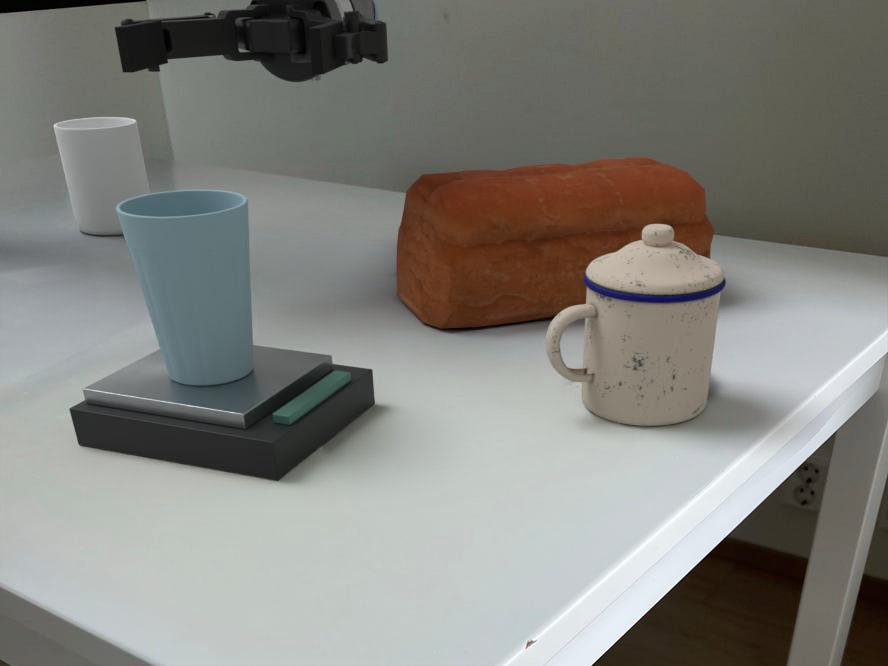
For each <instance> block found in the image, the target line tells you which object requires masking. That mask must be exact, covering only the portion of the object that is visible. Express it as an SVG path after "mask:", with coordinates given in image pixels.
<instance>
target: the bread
mask: <svg viewBox="0 0 888 666" xmlns="http://www.w3.org/2000/svg"><path fill="white" fill-rule="evenodd" d="M706 213H707V201H706V190H705V187H704V186H703V185H701V184H700V183H699V182H698V181H697V180H696V179H695V178H694V176H692V175H691V174H690V173H689V172H688V171H686V170H684V169H682V168H678V167H676V166H674V165H671V164H668V163H662V162H660V161H658V160H655V159H653V158H651V157H648V156H630V157H629V156H627V157H623V158H603V159H597V160H593V161H588V162H587V161H586V162H581V163H576V164H566V163H560V162H559V163H557V162H556V163H547V164H546V163H545V164H534V165H524V166H518V167H513V168H507V169H502V170H499V169H471V170H470V169H469V170H468V169H466V170H460V171H454V172H453V171H452V172H451V171H450V172H438V173H426V174H425V173H423V174H421V175H420V177H418V178H417V179H416V180H415V182H413V183H412V184H411V185H410V186H409V187H408V189H407V190H406V192H405V197H404V205H403V210H402V215H401V222H400V224H399V227H398V230H397V240H396V261H395V263H396V266H395V267H396V296H397V297H398V298H399V299H400V301H402V302H403V303H404V304H405V305H406V306H407V307H408V309H409V310H410V311H411V312H412V313H413V314H414V315H415V316H416V317H417V318H418V319H419V320H420V321H421V322H422V323H424V324H426V325H430V326H433V327H436V328H439V329H457V328H458V329H459V328H480V327H489V326H498V325H503V324H512V323H521V322H528V321H535V320H540V319H542V320H543V319H547V318H555V317H556V316H557V315H558V314H559V313H560V312H561V311H563V310H564V309H566V308H568V307H571V306H575V305H582V304H586V294H587V286H586V285H585V283H584V274H585V273H586V269H587V267H588V266H589V264H590V263H591V262H592V261H593V260H595V259H596V258H598V257H601V256H603V255H606V254H610V253H614V252H617V251H619V250H620V249H622V248H623V247H624V246H626V245H628V244H630V243H632V242H636V241H639V240H642V231H643V229H644V227H645V226H647V225H650V224H665V225H669V226H671V227H672V228H673V230H674V239H673V241H675V242H678V243H681V244H683V245H685V246H687V247H688V248H690V249H691V250H692V251H693V252H694V253H696V254H697V255H700V256H704V257H706V258H709V259H711V251H712V250H711V248H712V244H713V243H712V242H713V238H714V235H715V231H716V230H715V228H714V227H713V224H712V223H711V221H710V220H709V218H708V216H707V214H706Z"/></svg>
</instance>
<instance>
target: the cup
mask: <svg viewBox="0 0 888 666" xmlns="http://www.w3.org/2000/svg"><path fill="white" fill-rule="evenodd" d="M116 212H117V215H118V218H119V221H120V225H121V228H122V231H123V234H122V235H123V237H124V241H125V243H126V245H127V247H128V252H129V253H130V257H131V260H132V263H133V266H134V270H135V273H136V276H137V279H138V283H139V286H140V289H141V292H142V295H143V297H144V301H145V304H146V308H147V311H148V315H149V317H150V320H151V325H152V327H153V330H154V333H155V336H156V339H157V342H158V346H159V349H161V353H162V356H163V359H164V362H165V365H166V368H167V371H168V374H169V377H170V378H171V379H172V380H174V381H176V382H178V383H181V384H186V385H195V386H207V385H217V384H223V383H228V382H232V381H235V380H238V379H240V378H243V377H244V376H246V375H248V374H249V373H250V372H251V371H252V369H253V345H254V338H253V337H254V335H253V332H254V331H253V308H252V283H251V282H252V279H251V256H250V222H249V221H250V220H249V199H248V197H247V196H245V195H243V194H242V193H238V192H235V191H231V190H230V191H229V190H223V189H222V190H221V189H202V188H201V189H198V188H197V189H179V190H177V189H176V190H167V191H159V192H158V191H157V192H152V193H150V194H146V195H141V196H137V197H134V198H130V199H127V200H125V201H123V202H121V203H119V204H118V205H117V206H116Z"/></svg>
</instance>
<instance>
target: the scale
mask: <svg viewBox="0 0 888 666" xmlns="http://www.w3.org/2000/svg"><path fill="white" fill-rule="evenodd" d="M374 384H375V383H374V373H373V369H372V368H366V367H360V366H352V365H344V364H336V363H334V362H333V356H332V355H331V354H324V353H318V352H317V353H316V352H309V351H301V350H294V349H286V348H278V347H273V346H272V347H270V346H263V345H256V344H253V369H252V371H251V372H250V373H249V374H248V375H246V376H244V377H243V378H240V379H238V380H235V381H232V382H228V383H223V384H217V385H207V386H195V385H186V384H181V383H178V382H176V381H174V380H172V379H171V378H170V377H169V374H168V371H167V368H166V365H165V362H164V359H163V356H162V353H161V349H160V348H159V349H156V350H155V351H153V352H151V353H149V354H147V355H145V356H143V357H141V358H140V359H137V360H135V361H134V362H131V363H130V364H128V365H126V366H124V367H122V368H120V369H118V370H117V371H114V372H113V373H111V374H108V375H106V376H104V377H103V378H101V379H99V380H97V381H95V382H93V383H91V384H89V385H87V386H85V387H83V388H82V392H83V397H84V400H82V401H80V402H78V403H76V404H75V405H73V406H71V407H69V408H68V409H69V414H70V418H71V421H72V425H73V429H74V433H75V436H76V441H77V444H78V445H79V446H84V447H89V448H94V449H100V450H106V451H111V452H117V453H122V454H127V455H128V454H129V455H134V456H140V457H144V458H145V457H146V458H151V459H156V460H163V461H167V462H172V463H178V464H185V465H190V466H195V467H201V468H205V469H212V470H217V471H223V472H228V473H235V474H238V475H239V474H240V475H244V476H250V477H256V478H261V479H267V480H272V481H273V480H274V481H279V480H281V479H282V478H283V477H284V476H286V475H287V474H289V473H290V472H291V471H292V470H293V469H295V468H296V467H297V466H299V465H300V464H301V463H302V462H303V461H305V460H306V459H307V458H309V456H311V455H312V454H313V453H315V452H316V451H318V450H319V449H320V448H321V447H322V446H323V445H325V444H326V443H327V442H329V441H330V440H331V439H332V438H333V437H335V436H337V435H338V433H340V432H341V431H342V430H343V429H345V428H346V427H348V426H349V425H350V424H352V423H353V422H354V421H355V420H357V418H359V417H360V416H361V415H362V414H364V413H365V412H367V411H368V410H369V409H370V408H372V406H374V405H375V404H376V400H375V399H376V398H375V386H374Z"/></svg>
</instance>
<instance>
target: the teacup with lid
mask: <svg viewBox="0 0 888 666" xmlns="http://www.w3.org/2000/svg"><path fill="white" fill-rule="evenodd" d="M673 239H674V230H673V228H672V227H671V226H669V225H665V224H650V225H647V226H645V227H644V229H643V231H642V240H639V241H636V242H632V243H630V244H628V245H626V246H624V247H623V248H622V249H620V250H619V251H617V252H614V253H610V254H606V255H603V256H601V257H598V258H596V259H595V260H593V261H592V262H591V263H590V264H589V266H588V267H587V269H586V273H585V274H584V283H585V285H586V286H587V294H586V304H582V305H575V306H571V307H568V308H566V309H564V310H563V311H561V312H560V313H559V314H558V315H557V316H555V317H553V319H552V320H551V322H550V323H549V325H548V327H547V330H546V336H545V350H546V354H547V358H548V360H549V363H550V364H551V366H552V368H553V369H554V370H555V371H556V373H557V374H558V375H560V376H561V377H562V378H563V379H566V380H567V381H570V382H574V383H581V401H582V403H583V405H584V406H585V408H586V409H587V410H588V411H590V412H591V413H593V414H594V415H596V416H597V417H600V418H601V419H605V420H607V421H610V422H614V423H619V424H624V425H631V426H642V427H643V426H644V427H645V426H646V427H654V426H655V427H656V426H667V425H674V424H679V423H683V422H687V421H689V420H691V419H693V418H695V417H697V416H698V415H700V414H701V413H702V412H703V411H704V409H705V408H706V406H707V403H708V397H709V388H710V382H711V381H710V380H711V374H712V373H711V372H712V365H713V357H714V349H715V341H716V333H717V327H718V326H717V325H718V317H719V310H720V309H719V308H720V302H721V301H720V300H721V292H722V291H723V290H724V289H725V287H726V283H727V281H726V277H725V272H724V270H723V268H722V266H721V264H719V263H718V262H716V261H715V260H713V259H712V258H710V259H709V258H706V257H704V256H700V255H697V254H696V253H694V252H693V251H692V250H691V249H690V248H688V247H687V246H685V245H683V244H681V243H678V242H675V241H673ZM583 319H584V336H583V354H582V355H583V357H582V358H583V359H582V368H572V367H568V366H567V365H566V363H565V361H564V359H563V356H562V351H561V340H562V336H563V333H564V332H565V330H566V329H567V328H568V327H569V326H570V325H571V324H572V323H574V322H575V321H578V320H583Z"/></svg>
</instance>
